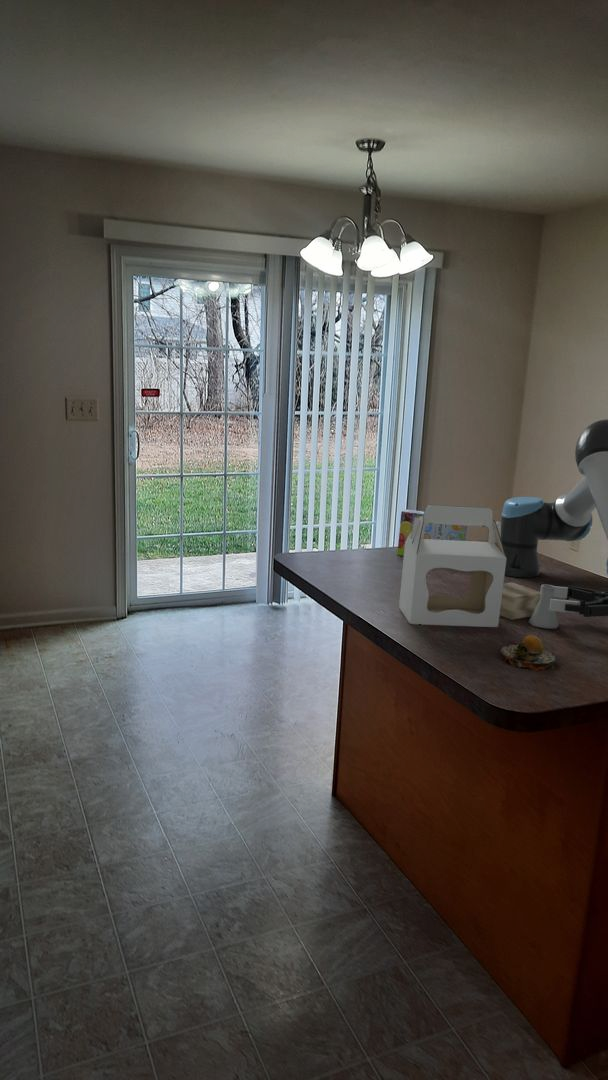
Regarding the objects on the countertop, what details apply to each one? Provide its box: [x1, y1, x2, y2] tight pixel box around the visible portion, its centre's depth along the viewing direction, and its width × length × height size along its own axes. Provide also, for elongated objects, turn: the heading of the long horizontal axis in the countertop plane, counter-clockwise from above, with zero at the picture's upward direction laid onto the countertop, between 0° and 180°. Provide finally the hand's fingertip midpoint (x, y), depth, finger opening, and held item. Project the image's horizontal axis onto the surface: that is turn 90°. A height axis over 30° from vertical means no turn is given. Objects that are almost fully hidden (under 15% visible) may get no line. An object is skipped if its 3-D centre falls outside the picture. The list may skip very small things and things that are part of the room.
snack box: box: [396, 509, 468, 557], centre depth 252 cm, size 21×6×15 cm, turn 65°
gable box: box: [398, 504, 507, 628], centre depth 189 cm, size 22×13×28 cm, turn 95°
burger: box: [498, 632, 557, 671], centre depth 165 cm, size 12×12×8 cm
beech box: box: [499, 582, 541, 620], centre depth 200 cm, size 10×10×6 cm
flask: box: [528, 583, 559, 630], centre depth 190 cm, size 7×7×10 cm
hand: (544, 597), depth 190 cm, fingers open, 13 cm apart
